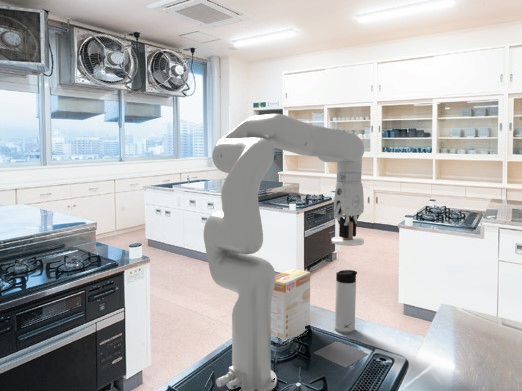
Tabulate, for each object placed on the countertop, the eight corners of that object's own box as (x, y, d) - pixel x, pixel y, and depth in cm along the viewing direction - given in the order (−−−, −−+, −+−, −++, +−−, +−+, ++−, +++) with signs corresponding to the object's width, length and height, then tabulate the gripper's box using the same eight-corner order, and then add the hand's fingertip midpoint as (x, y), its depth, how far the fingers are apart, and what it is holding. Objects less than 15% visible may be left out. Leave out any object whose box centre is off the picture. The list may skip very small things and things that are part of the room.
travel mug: (350, 337, 125) (352, 274, 123) (331, 331, 129) (332, 270, 127) (358, 330, 130) (360, 270, 128) (340, 325, 134) (341, 266, 132)
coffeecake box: (292, 325, 134) (293, 267, 132) (310, 330, 130) (311, 271, 128) (264, 340, 122) (265, 278, 120) (284, 347, 118) (284, 283, 116)
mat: (345, 369, 106) (345, 367, 106) (313, 354, 114) (313, 352, 114) (368, 355, 113) (368, 354, 113) (336, 342, 121) (336, 340, 121)
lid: (351, 247, 120) (352, 225, 119) (324, 242, 127) (325, 221, 126) (370, 242, 126) (370, 222, 126) (343, 237, 134) (344, 218, 133)
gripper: (343, 179, 117) (341, 242, 118) (374, 178, 128) (372, 235, 129) (322, 178, 122) (321, 238, 124) (354, 177, 133) (352, 231, 135)
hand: (347, 236), depth 126 cm, fingers closed on lid, 3 cm apart
